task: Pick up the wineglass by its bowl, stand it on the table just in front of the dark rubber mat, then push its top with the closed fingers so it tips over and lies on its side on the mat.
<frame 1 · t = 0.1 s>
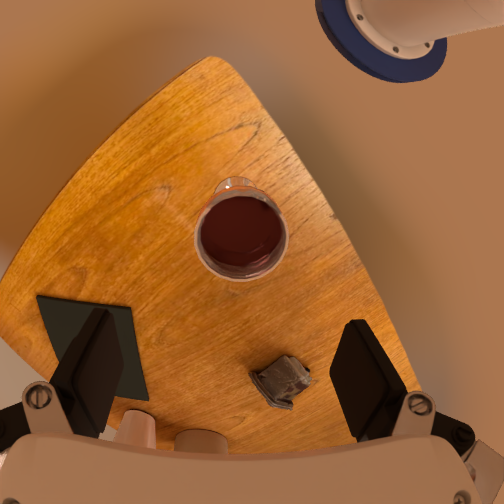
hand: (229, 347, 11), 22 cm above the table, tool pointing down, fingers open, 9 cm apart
checkered cake slice: (287, 374, 43), on the table
wineglass: (236, 198, 31), on the table
cup: (140, 416, 46), on the table
mat: (94, 353, 39), on the table
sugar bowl: (207, 443, 51), on the table
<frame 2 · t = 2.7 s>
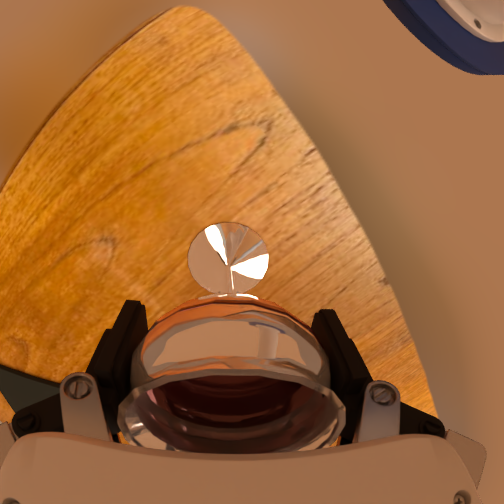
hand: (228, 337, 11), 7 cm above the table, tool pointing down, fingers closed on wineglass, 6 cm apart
wineglass: (228, 259, 18), on the table, touching gripper
mat: (59, 424, 26), on the table
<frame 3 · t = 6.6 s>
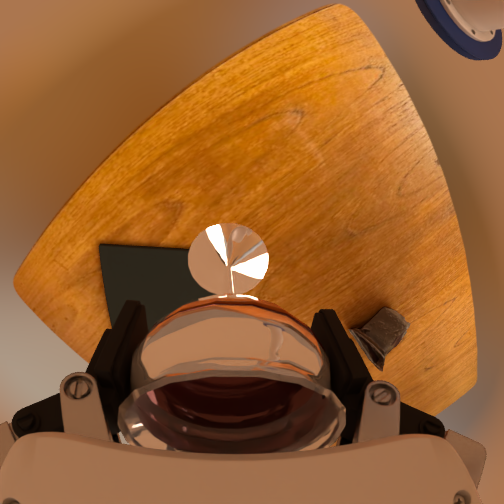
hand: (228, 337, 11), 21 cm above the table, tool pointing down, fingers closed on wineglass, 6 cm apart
checkered cake slice: (381, 331, 40), on the table
wineglass: (228, 260, 18), point 14 cm above the table, touching gripper
mat: (167, 318, 36), on the table
when the fingers open (7 cm above the table, at t = 10.4 s): wineglass stays where it is, on the table.
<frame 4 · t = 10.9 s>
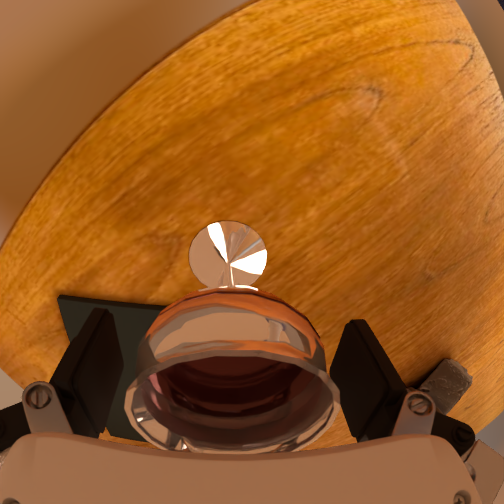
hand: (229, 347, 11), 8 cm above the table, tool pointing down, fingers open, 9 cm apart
checkered cake slice: (434, 383, 28), on the table
wineglass: (227, 256, 19), on the table
mat: (165, 392, 24), on the table
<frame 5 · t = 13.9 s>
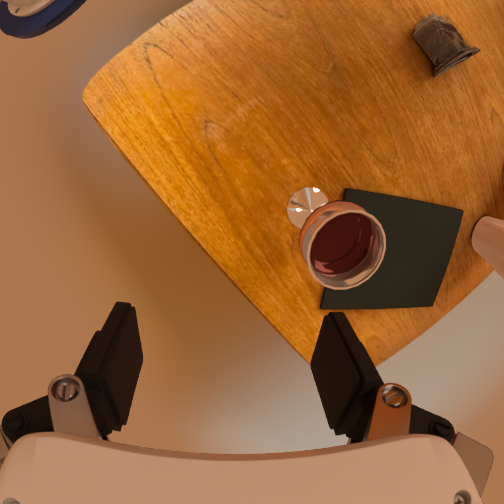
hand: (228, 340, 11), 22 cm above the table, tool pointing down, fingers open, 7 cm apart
checkered cake slice: (438, 41, 24), on the table
wineglass: (308, 208, 32), on the table
cup: (480, 233, 36), on the table
mat: (398, 256, 36), on the table
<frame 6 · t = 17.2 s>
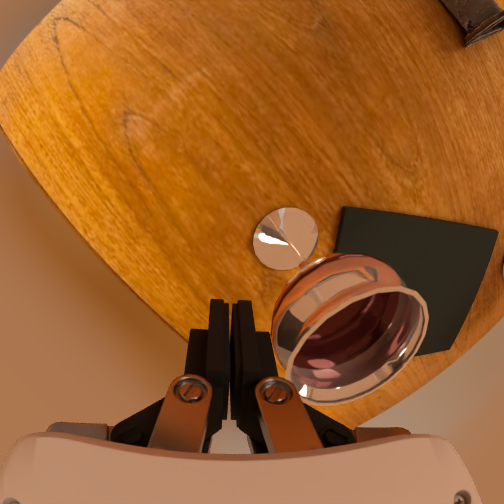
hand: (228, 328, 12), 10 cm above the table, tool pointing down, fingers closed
checkered cake slice: (465, 4, 13), on the table
wineglass: (285, 239, 21), on the table, touching gripper
mat: (414, 296, 25), on the table
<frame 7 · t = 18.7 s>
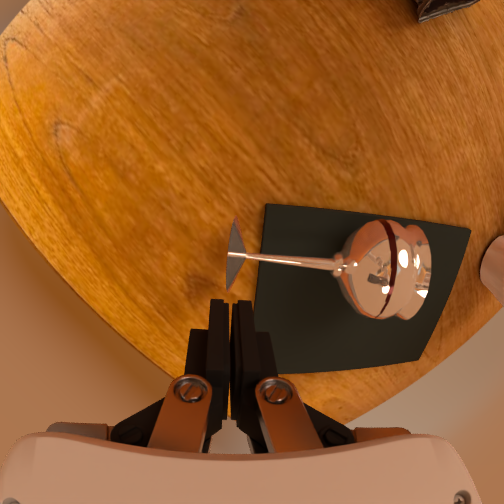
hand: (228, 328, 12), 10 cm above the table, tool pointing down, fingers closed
wineglass: (229, 253, 19), point 2 cm above the table, touching mat
cup: (493, 258, 24), on the table
mat: (366, 302, 24), on the table
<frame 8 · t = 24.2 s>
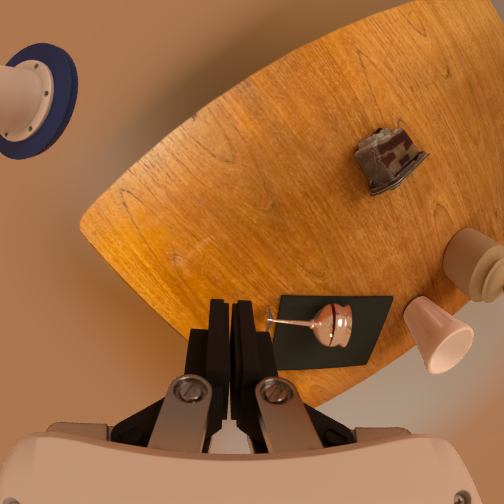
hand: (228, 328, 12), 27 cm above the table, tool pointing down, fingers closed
checkered cake slice: (384, 151, 36), on the table
wineglass: (265, 319, 42), point 2 cm above the table, touching mat
cup: (415, 308, 48), on the table
mat: (330, 334, 48), on the table
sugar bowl: (467, 248, 44), on the table
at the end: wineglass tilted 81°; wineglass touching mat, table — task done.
